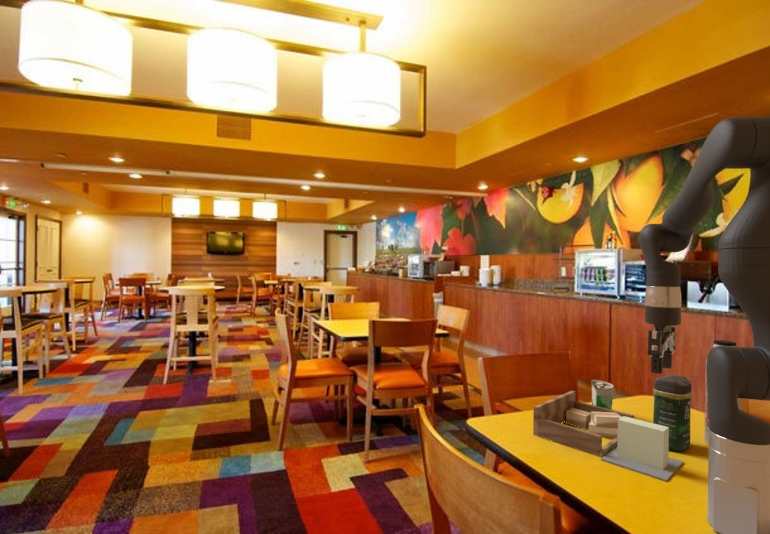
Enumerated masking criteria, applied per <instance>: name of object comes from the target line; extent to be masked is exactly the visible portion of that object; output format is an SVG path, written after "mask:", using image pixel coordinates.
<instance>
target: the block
mask: <svg viewBox="0 0 770 534" xmlns="http://www.w3.org/2000/svg"><path fill="white" fill-rule="evenodd" d="M668 444H669V427H666V426H662V425H658V424H654V423H653V422H649V421H646V420H641V419H637V418H629V417H625V416H623V417H621V418H620V419H618V440H617V456H621V457H624V458H627V459H630V460H633V461H637V462H640V463H643V464H646V465H649V466H653V467H656V468H659V469H662V470H663V469H664V468H665V467H666V466H667V465H668V457H669V450H668Z"/></svg>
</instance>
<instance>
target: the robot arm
mask: <svg viewBox="0 0 770 534" xmlns="http://www.w3.org/2000/svg"><path fill="white" fill-rule="evenodd" d="M724 169H731V170H733V169H734V170H735V169H736V170H738V169H741V170H748V169H749V172H750V174H749V175H750V178H749V186H748V191H747V195H746V197H745V200H744V201H743V203H742V204H741V206H740V207H739V208H738V211H737V212H736V213H735V215H734V216H733V217H732V218H731V220H730V221H729V222H728V223H727V225H726V227H725V228H724V230H723V231H722V234H721V235H720V237H719V239H718V249H717V250H718V251H717V253H718V255H717V259H718V261H717V263H718V264H717V270H718V271H717V272H718V276H719V280H720V281H721V283H722V285H723V286H724V288H725V289H726V290H727V292H728V293H729V295H730V296H731V297H732V298H733V300H734V301H735V302H736V304H737V305H738V306H739V307H740V309H741V310H742V312H743V313H744V315H745V316H746V318H747V320H748V323H749V325H750V328H751V331H752V338H753V347H746V346H735V347H731V346H716V347H712V348H711V349H710V350H709V352H708V354H707V357H706V360H707V363H706V362H705V377H706V376H707V396H708V416H709V444H708V450H707V451H708V461H707V462H708V465H707V467H708V468H707V469H708V470H707V522H708V524H709V525H711V528H712V531H713V532H716V533H719V534H770V422H768V421H767V420H765V419H763V418H761V417H758V416H757V415H753V414H750V413H748V412H745V411H743V409H742V410H740V409H739V408H738V403H737V398H743V400H744V399H746V400H754V401H755V400H757V401H767V402H768V401H769V402H770V115H763V116H759V115H758V116H733V117H727V118H724V119H722V120H720V121H719V122H718V123H717V124H716V125H714V127H713V128H712V129H711V131H710V133H709V134H708V135H707V137H706V139H705V141H704V142H703V145H702V146H701V148H700V151H699V153H698V155H697V157H696V159H695V161H694V163H693V165H692V167H691V169H690V171H689V173H688V176H687V178H686V180H685V182H684V184H683V186H682V187H681V189H680V191H679V192H678V194H677V195H676V197H675V198H674V199H673V200H672V202H671V203H670V204H669V205H668V207H666V209H665V211H664V212H663V214H662V217H661V222H662V223H649V224H646V225H644V226H643V227H642V228H641V230H640V231H639V233H638V242H639V246H640V251H641V253H642V257H643V261H644V264H645V265H644V266H645V268H646V269H645V270H646V287H645V295H644V322H645V323H646V324H650V325H653V329H649V330H648V332H647V333H648V339H647V341H648V343H647V344H648V345H647V355H648V356H650V359H651V360H650V361H651V363H650V364H651V366H650V368H651V369H650V371H651V373H652V374H657V375H660V374H663V372H664V371H663V370H664V369H668V370H669V369H672V367H673V354H674V352H675V350H676V348H677V346H676V327H675V326H680V325H681V324H682V291H681V266H680V264H678V263H675V262H673V261H669V260H665V259H663V257H662V255H661V253H679V252H683V251H684V250H685V249H687V248H688V247H689V246H690V243H691V241H692V237H693V235H694V232H695V230H696V227H697V226H698V224H700V222H701V221H702V220H703V219H704V218H705V217H706V216H707V215H708V213H709V212H710V210H712V207H713V204H714V200H715V194H714V193H715V192H714V188H713V180H714V178H716V177H717V175H718V174H719V173H720V172H722V171H723V170H724ZM663 368H664V369H663Z"/></svg>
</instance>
